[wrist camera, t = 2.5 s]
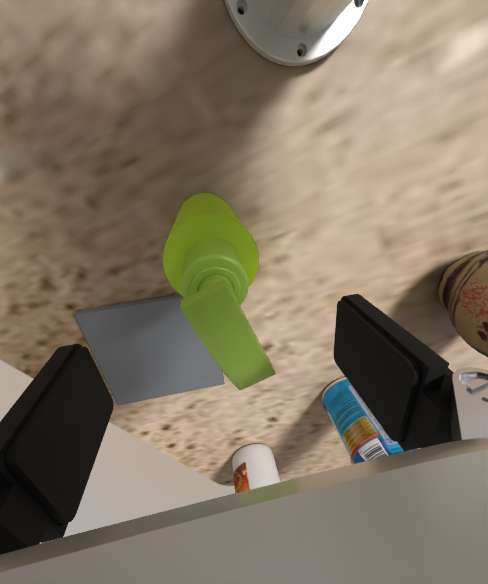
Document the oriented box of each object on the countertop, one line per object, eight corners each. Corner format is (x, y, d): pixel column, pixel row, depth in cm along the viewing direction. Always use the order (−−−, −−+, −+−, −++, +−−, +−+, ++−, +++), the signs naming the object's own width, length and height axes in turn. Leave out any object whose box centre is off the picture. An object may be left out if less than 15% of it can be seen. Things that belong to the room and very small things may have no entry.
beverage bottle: (369, 369, 42) (493, 518, 24) (362, 404, 46) (465, 554, 28) (320, 379, 41) (413, 540, 23) (318, 413, 45) (395, 574, 27)
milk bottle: (254, 436, 45) (291, 612, 27) (280, 451, 48) (326, 617, 31) (222, 458, 46) (238, 639, 29) (249, 472, 50) (277, 641, 32)
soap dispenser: (200, 264, 29) (201, 417, 11) (167, 208, 26) (99, 300, 8) (245, 242, 29) (320, 363, 11) (218, 182, 26) (262, 219, 8)
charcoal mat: (77, 310, 29) (73, 315, 28) (206, 289, 31) (206, 293, 30) (120, 399, 36) (118, 405, 35) (223, 378, 38) (224, 384, 37)
